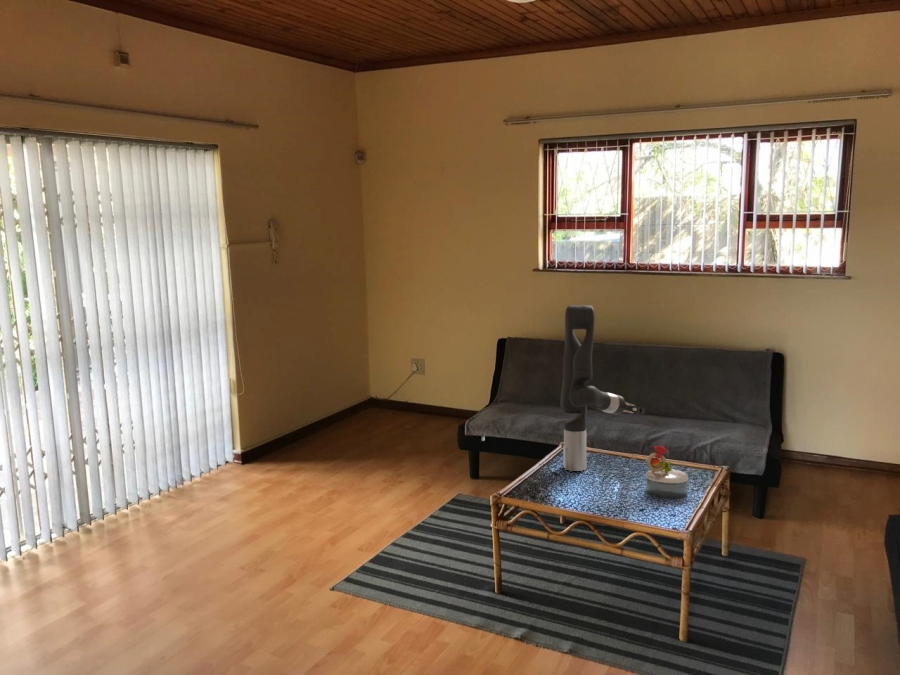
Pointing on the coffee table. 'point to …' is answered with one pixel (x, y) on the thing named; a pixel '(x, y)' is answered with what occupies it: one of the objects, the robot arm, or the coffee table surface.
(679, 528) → the coffee table surface
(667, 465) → the bird rattle
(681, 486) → the biscuit tin
